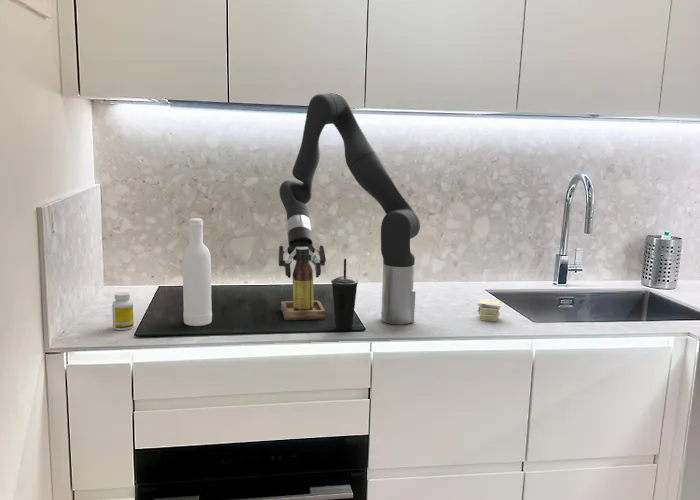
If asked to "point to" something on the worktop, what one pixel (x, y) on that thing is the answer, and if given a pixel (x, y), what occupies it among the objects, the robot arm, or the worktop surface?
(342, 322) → the drinking cup
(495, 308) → the pale yellow layered block
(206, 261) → the bottle
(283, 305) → the tray
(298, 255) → the sauce bottle
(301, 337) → the worktop surface
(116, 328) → the supplement bottle
